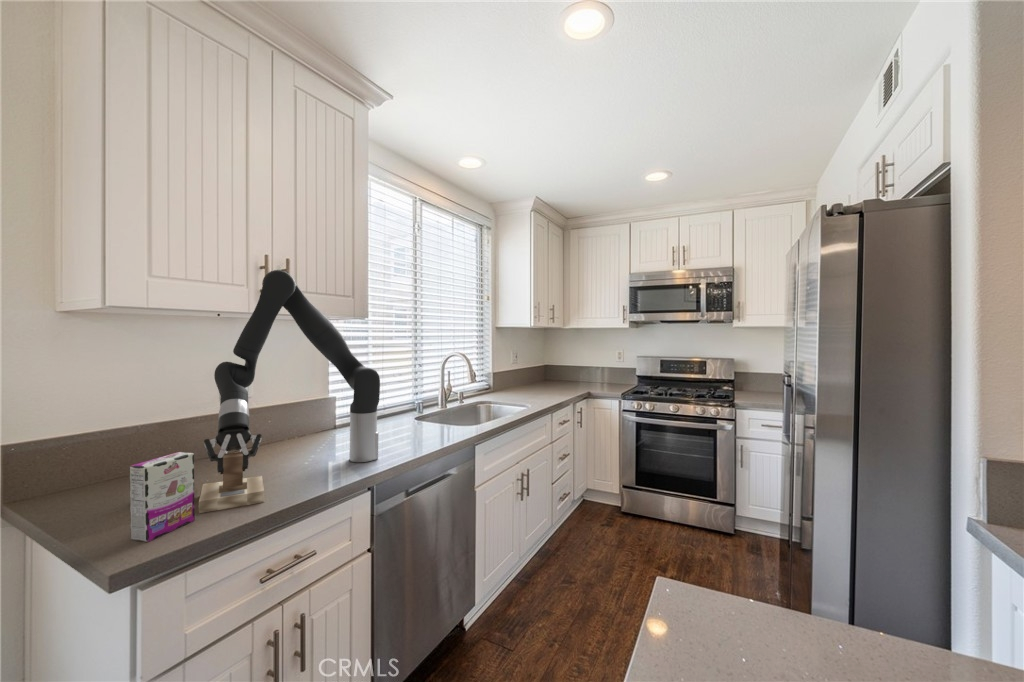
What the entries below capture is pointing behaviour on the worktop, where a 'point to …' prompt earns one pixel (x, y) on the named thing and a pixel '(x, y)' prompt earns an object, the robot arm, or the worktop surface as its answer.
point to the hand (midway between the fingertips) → (233, 471)
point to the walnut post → (232, 469)
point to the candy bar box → (161, 495)
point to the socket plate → (231, 495)
